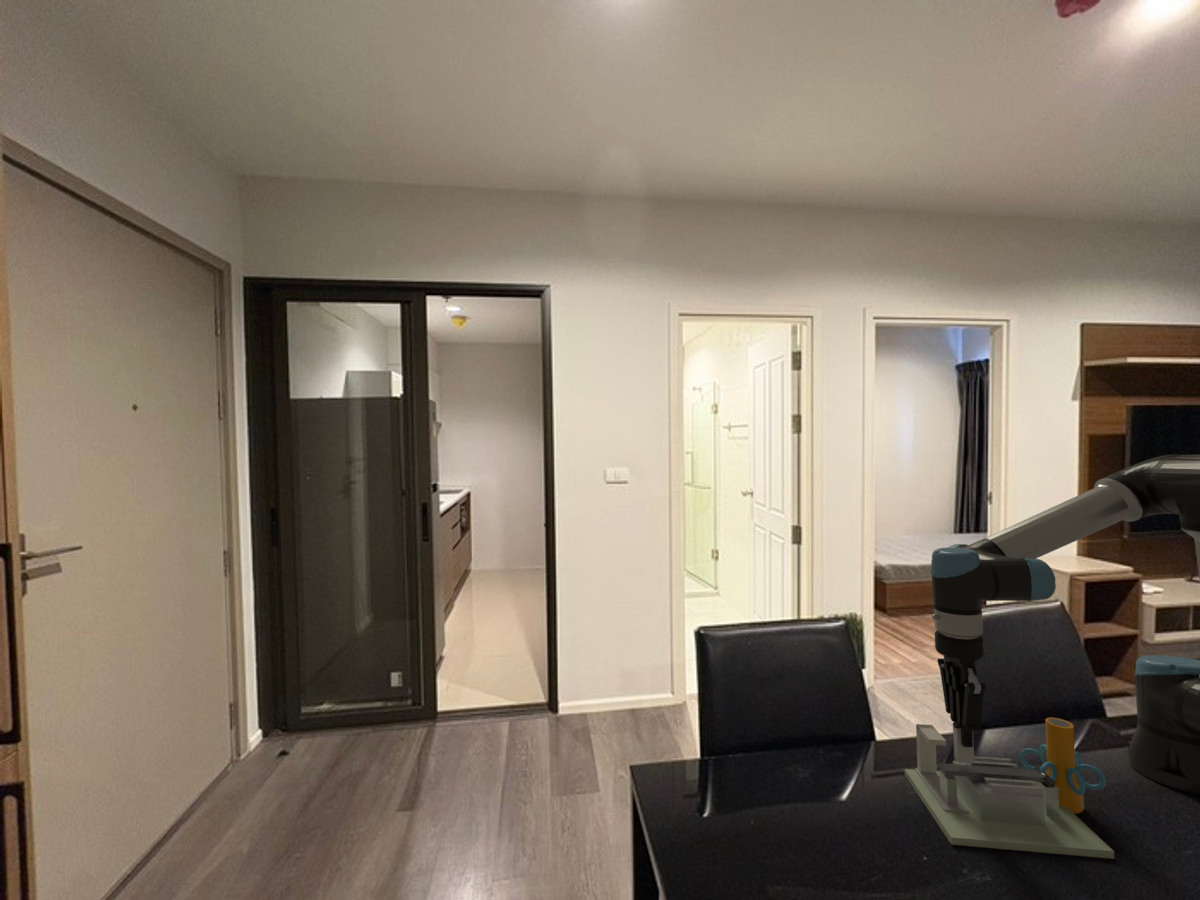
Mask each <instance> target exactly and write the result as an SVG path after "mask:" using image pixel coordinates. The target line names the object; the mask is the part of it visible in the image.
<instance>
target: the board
mask: <svg viewBox="0 0 1200 900" xmlns="http://www.w3.org/2000/svg"><path fill="white" fill-rule="evenodd" d="M904 776H905V779H907V780H908V782H909V783H910V785H911V787H912V788H913V790H914V791H915V792H916V794H917V795H918V797H919V798H920V800H921V801H922V803H923V804H924V806H925V807H926V809H927V810H928V812H929V813H930V816H932V818H933V820H934V821H935V822H936V824H937V826H938V827H939V829H940V830H941V831H942V833H943V834H944V836H945V837H946V839H947V840H948V841H949V843H950V845H951V846H952V845H953V846H962V847H963V846H966V847H976V848H988V849H998V850H1010V851H1021V852H1023V851H1024V852H1033V853H1044V854H1056V855H1067V856H1078V857H1089V858H1100V859H1115V850H1113V849H1112V848H1111V847H1110V846H1109V845H1108V844H1107V843H1106V842H1105V841H1103V839H1101V837H1099V836H1098V835H1097V834H1096V833H1095V832H1094V830H1092V829H1090V827H1088V826H1087V824H1085V823H1084V822H1083V821H1082V820H1081V819H1080V818H1079V817H1078V816H1077V814H1075V813H1072V812H1071V811H1070V810H1069V809H1068V808H1066V807H1062V806H1059V817H1057V816H1046V815H1045V826H1036V825H1023V824H1011V823H999V822H986V821H981V820H980V819H979V818H978V817H977V815H976V814H975V813H974V812H973V810H972V809H971V808H970V807H969V805H968V804H967V803H966V802H965V800H964V799H963V798H962V796H961V795H960V794H959V793H958V791H957V805H948V804H947V803H946V801H945V800H944V799H943V797H942V796H941V795H940V770H937V773H926V772H920V771H919V769H918V768H917V767H915V768H914V769H912V768H911V769H910V768H904Z"/></svg>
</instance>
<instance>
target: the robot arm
mask: <svg viewBox="0 0 1200 900" xmlns="http://www.w3.org/2000/svg"><path fill="white" fill-rule="evenodd" d="M1167 514H1169V515H1178V516H1179V521H1180V528H1181V530H1182V531H1183V532H1184V533H1186V534H1188V536H1190V537H1192V538H1193V540H1194V546H1195V555H1196V561H1197V562H1196V563H1197V570H1198V579H1199V581H1200V454H1183V453H1181V454H1180V453H1179V454H1166V455H1165V454H1164V455H1160V456H1157V457H1153V458H1150V459H1149V458H1148V459H1146V460H1144V461H1141V462H1138V463H1135V464H1133V465H1130V466H1127V467H1125V468H1123V469H1121V470H1118V471H1116V472H1114V473H1111V474H1109V475H1107V476H1105V477H1103V478H1100V479H1098V480H1096V482H1095V483H1094V486H1093V488H1092V489H1088V490H1087V491H1085V492H1083V493H1080V494H1078V495H1076V496H1074V497H1072V498H1070V499H1067V500H1064V501H1062V502H1061V503H1059V504H1056V505H1055V506H1053V507H1050V508H1048V509H1045V510H1044V511H1042V512H1041V511H1040V512H1038V513H1037V514H1034V515H1032V516H1030V517H1027V518H1026V519H1024V520H1022V521H1019V522H1017V523H1015V524H1013V525H1011V526H1008V527H1007V528H1004V529H1002V530H1000V531H998V532H996V533H993V534H990V535H989V536H987V537H985V538H983V539H980V540H977V541H974V542H973V543H971V544H966V543H965V544H964V543H962V544H961V543H958V544H956V543H955V544H952V545H950V546H947V547H940V548H936V549H935V550H934V551H933V552H932V554H931V567H930V568H931V569H930V575H931V584H932V599H933V613H932V614H931V618H932V620H933V621H934V622H933V623H934V628H935V630H936V631H935V632H934V646H935V647H934V648H935V651H936V652H937V653H938V654H940V655H942V656H943V658H938V657H937V664H938V668H939V673H940V677H941V679H940V680H941V684H942V694H943V699H944V700H943V701H944V706H945V711H946V713H947V714H949V715H950V720H951V722H952V732H953V733H952V737H953V754H954V755H953V756H954V757H953V758H954V760H955V761H957V762H958V763H974V756H975V749H974V745H975V744H974V731H981V724H982V713H983V704H984V703H983V702H984V694H985V692H986V690H987V687H986V685H985V683H984V682H979V680H978V679H977V678H978V670H977V667H976V662H977V661H978V660H981V659H982V658H984V655H985V651H984V638H983V636H981V635H983V634H984V628H983V627H984V624H983V623H984V622H983V610H982V605H983V604H982V602H992V601H993V602H1008V601H1009V602H1010V601H1012V602H1014V601H1015V602H1016V601H1018V602H1020V601H1021V602H1026V601H1027V602H1032V601H1043V600H1048V599H1050V598H1051V597H1052V596H1053V595H1054V593H1055V591H1056V587H1057V585H1056V576H1055V572H1054V571H1053V569H1052V567H1051V566H1050V565H1049V564H1048V563H1047V562H1045V561H1044V560H1042V559H1039V558H1040V557H1043V556H1045V555H1047V554H1048V555H1049V554H1050V553H1052V552H1054V551H1056V550H1058V549H1061V548H1063V547H1065V546H1067V545H1070V544H1072V543H1074V542H1077V541H1079V540H1081V539H1083V538H1085V537H1088V536H1090V535H1092V534H1094V533H1096V532H1099V531H1101V530H1105V529H1106V528H1109V527H1111V526H1113V525H1115V524H1117V523H1119V522H1122V521H1125V522H1135V521H1139V520H1140V519H1143V518H1145V517H1146V518H1147V517H1149V516H1156V515H1167ZM1133 675H1134V680H1135V681H1134V683H1135V698H1136V699H1135V700H1136V715H1137V716H1136V718H1137V724H1136V725H1137V726H1136V728H1135V730H1134V733H1133V736H1132V738H1131V740H1130V743H1129V745H1128V746H1127V747H1126V756H1127V757H1126V759H1127V763H1128V764H1129V766H1130V767H1131V768H1132V769H1134V770H1135V771H1136V772H1139V774H1142V775H1143V776H1144V777H1147V778H1149V779H1151V780H1152V781H1155V782H1158V783H1160V784H1162V785H1165V786H1166V787H1167V786H1168V787H1170V788H1173V789H1176V790H1179V791H1183V792H1186V793H1191V794H1195V795H1200V659H1195V658H1188V657H1182V656H1181V657H1180V656H1174V655H1173V656H1172V655H1156V654H1155V655H1154V654H1152V655H1151V654H1150V655H1143V656H1140V657H1138V658H1137V660H1136V661H1135V672H1134V674H1133Z"/></svg>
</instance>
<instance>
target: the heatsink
mask: <svg viewBox="0 0 1200 900" xmlns="http://www.w3.org/2000/svg"><path fill="white" fill-rule="evenodd" d="M952 764H959V765H973V766H986V767H1000V768H1013V769H1019V765H1018V764H1017V763H1014V762H1013V759H1011V758H1005V757H1002V758H1001V757H992V756H991V757H989V756H988V757H987V756H975V755H974V763H958V762H957V760H952ZM939 771H940V795H941V796H942V797H943V799H944V800H945V801H946V803H947V804H948V805H957V791H958V793H959V794H960V795H961V796H962V798H963V799H964V800H965V802H966V803H967V804H968V805H969V807H970V808H971V809H972V810H973V812H974V813H975V814H976V815H977V817H978V818H979V819H980V820H981V821H986V822H999V823H1011V824H1023V825H1036V826H1045V815H1046V816H1057V817H1059V795H1058V788H1057V787H1056V786H1053V787H1051V786H1049V785H1048V784H1047V783H1045V782H1035V781H1027V780H1012V779H997V778H980V777H967V776H954V775H945V774H944V773H943V772H942V770H941V769H939Z"/></svg>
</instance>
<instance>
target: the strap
mask: <svg viewBox="0 0 1200 900" xmlns="http://www.w3.org/2000/svg"><path fill="white" fill-rule="evenodd" d="M1039 767H1040V766H1035V768H1034V770H1029V769H1028V768H1026V769H1024V768H1018V769H1013V768H1000V767H986V766H973V765H959V764H953V763H945V762H944V763H942V762H939V763H938V768H939V770H942V772H943V773H944V774H945V775H954V776H967V777H980V778H997V779H1012V780H1027V781H1035V782H1045V783H1047V784H1048V785H1049V786H1051V787H1053V786H1055V784H1056V783H1055V781H1054V780H1053V779H1052V778H1050V777H1049V776H1048V775H1047V774H1046V773H1045V772H1042V771H1040V768H1039Z"/></svg>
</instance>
